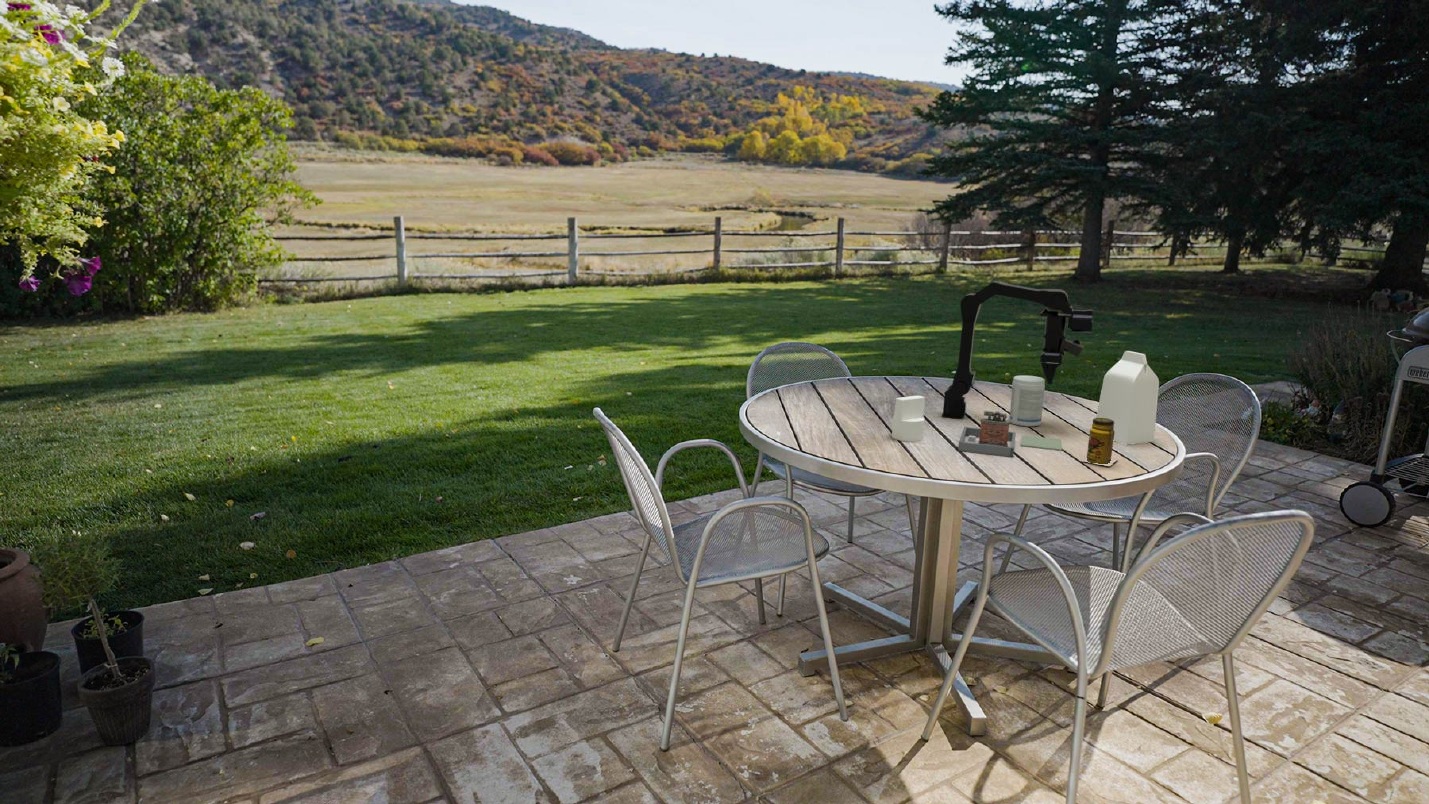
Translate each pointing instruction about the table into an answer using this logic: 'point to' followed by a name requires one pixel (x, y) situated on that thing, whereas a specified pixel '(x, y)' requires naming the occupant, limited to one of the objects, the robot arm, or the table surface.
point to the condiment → (1101, 441)
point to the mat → (1041, 442)
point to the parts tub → (984, 447)
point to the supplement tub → (1027, 400)
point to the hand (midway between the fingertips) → (1050, 381)
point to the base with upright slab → (909, 418)
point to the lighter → (994, 429)
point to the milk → (1130, 399)
